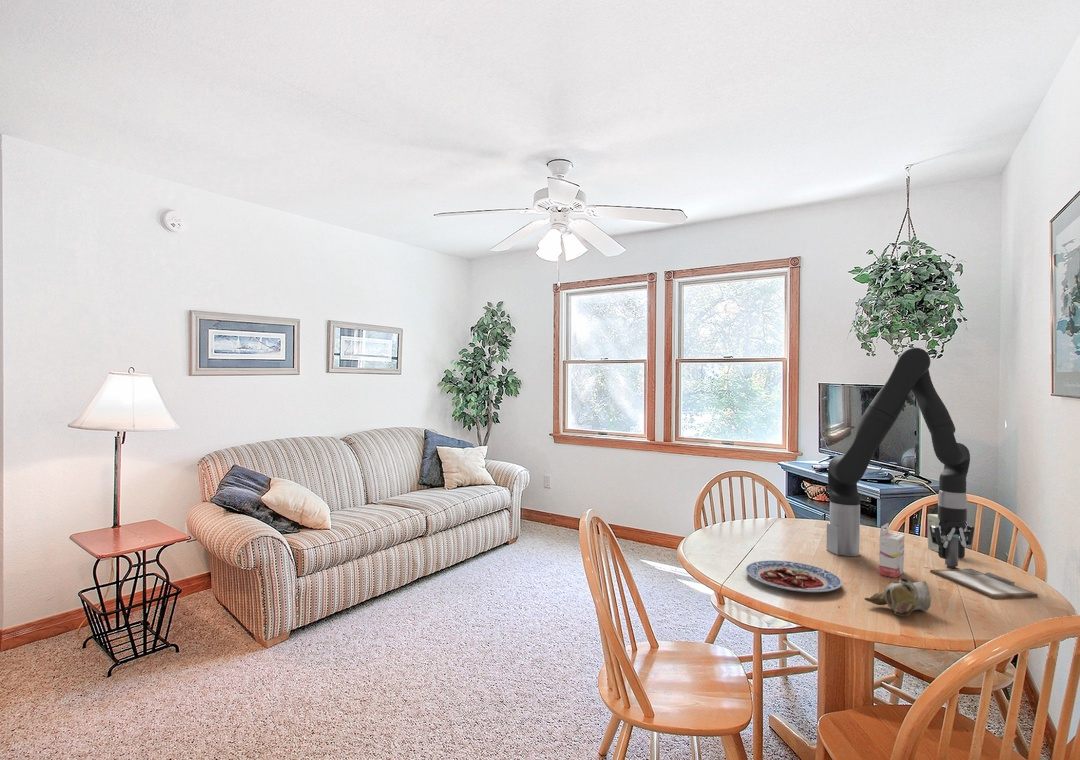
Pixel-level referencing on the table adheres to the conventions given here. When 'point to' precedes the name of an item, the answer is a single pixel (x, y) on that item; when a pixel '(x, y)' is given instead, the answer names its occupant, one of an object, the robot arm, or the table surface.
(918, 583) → the ceramic sculpture
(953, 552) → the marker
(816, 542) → the table surface
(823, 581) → the ceramic plate
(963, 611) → the table surface
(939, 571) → the clipboard
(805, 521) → the table surface
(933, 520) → the skincare box
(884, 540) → the ink cartridge box
